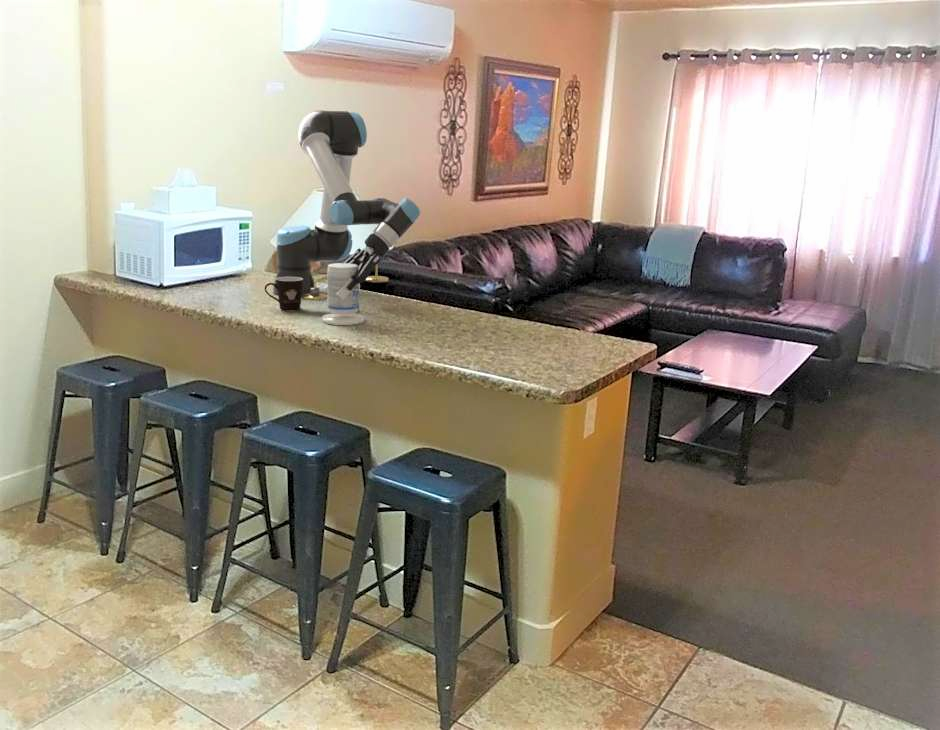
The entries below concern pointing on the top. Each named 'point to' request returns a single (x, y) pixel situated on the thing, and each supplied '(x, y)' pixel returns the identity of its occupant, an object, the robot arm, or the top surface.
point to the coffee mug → (288, 292)
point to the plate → (342, 319)
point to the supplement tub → (335, 281)
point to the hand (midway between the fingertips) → (333, 293)
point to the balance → (314, 290)
